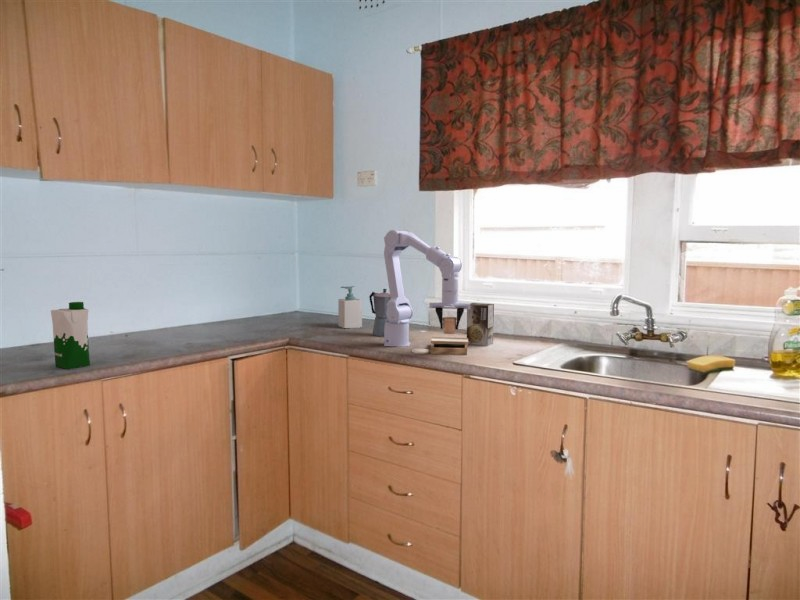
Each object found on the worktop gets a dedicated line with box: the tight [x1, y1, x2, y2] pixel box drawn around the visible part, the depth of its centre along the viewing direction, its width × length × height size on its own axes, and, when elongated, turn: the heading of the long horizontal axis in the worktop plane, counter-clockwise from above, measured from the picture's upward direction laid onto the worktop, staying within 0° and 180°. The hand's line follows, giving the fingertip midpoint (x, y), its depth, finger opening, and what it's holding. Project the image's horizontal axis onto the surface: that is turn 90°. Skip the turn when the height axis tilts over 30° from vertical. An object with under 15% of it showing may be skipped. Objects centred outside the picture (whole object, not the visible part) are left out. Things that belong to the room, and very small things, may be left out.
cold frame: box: [429, 343, 468, 356], centre depth 201 cm, size 13×16×2 cm
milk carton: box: [50, 301, 91, 370], centre depth 172 cm, size 9×9×20 cm
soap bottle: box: [337, 285, 363, 329], centre depth 253 cm, size 9×9×19 cm
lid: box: [430, 336, 469, 345], centre depth 205 cm, size 14×9×1 cm, turn 83°
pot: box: [442, 316, 457, 335], centre depth 196 cm, size 5×5×6 cm
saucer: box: [411, 348, 430, 354], centre depth 198 cm, size 6×6×1 cm
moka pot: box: [368, 288, 391, 338], centre depth 232 cm, size 10×15×20 cm, turn 53°
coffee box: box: [466, 302, 495, 347], centre depth 213 cm, size 9×6×16 cm
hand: (449, 328), depth 196 cm, fingers closed on pot, 5 cm apart
